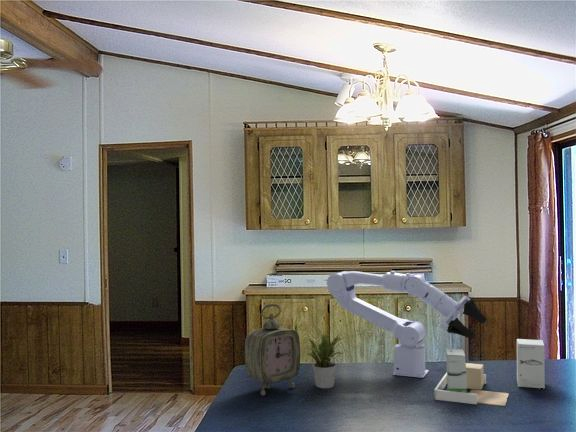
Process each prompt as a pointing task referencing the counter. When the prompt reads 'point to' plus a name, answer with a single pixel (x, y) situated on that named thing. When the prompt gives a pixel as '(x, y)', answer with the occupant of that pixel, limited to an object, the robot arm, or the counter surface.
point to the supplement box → (530, 363)
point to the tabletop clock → (272, 353)
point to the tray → (454, 393)
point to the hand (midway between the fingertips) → (479, 329)
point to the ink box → (456, 370)
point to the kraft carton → (474, 376)
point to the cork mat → (491, 397)
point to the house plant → (324, 361)
